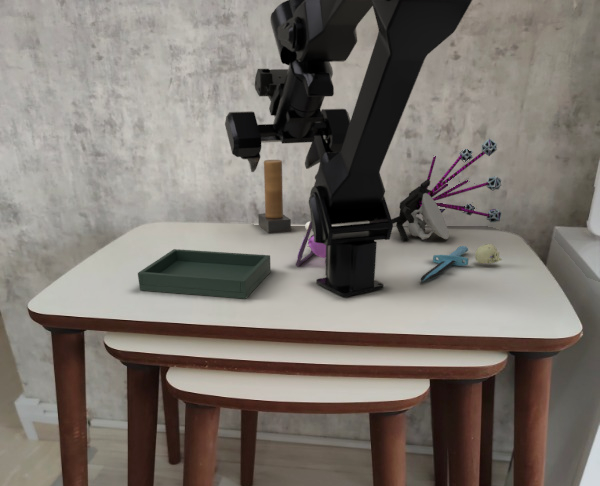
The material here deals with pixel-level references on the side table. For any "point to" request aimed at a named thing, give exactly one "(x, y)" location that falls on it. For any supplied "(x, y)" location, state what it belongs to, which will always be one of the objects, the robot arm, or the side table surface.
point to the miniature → (428, 220)
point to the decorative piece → (448, 191)
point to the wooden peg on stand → (273, 199)
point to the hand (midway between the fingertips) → (279, 167)
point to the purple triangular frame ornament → (315, 247)
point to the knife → (446, 262)
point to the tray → (205, 273)
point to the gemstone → (487, 254)
